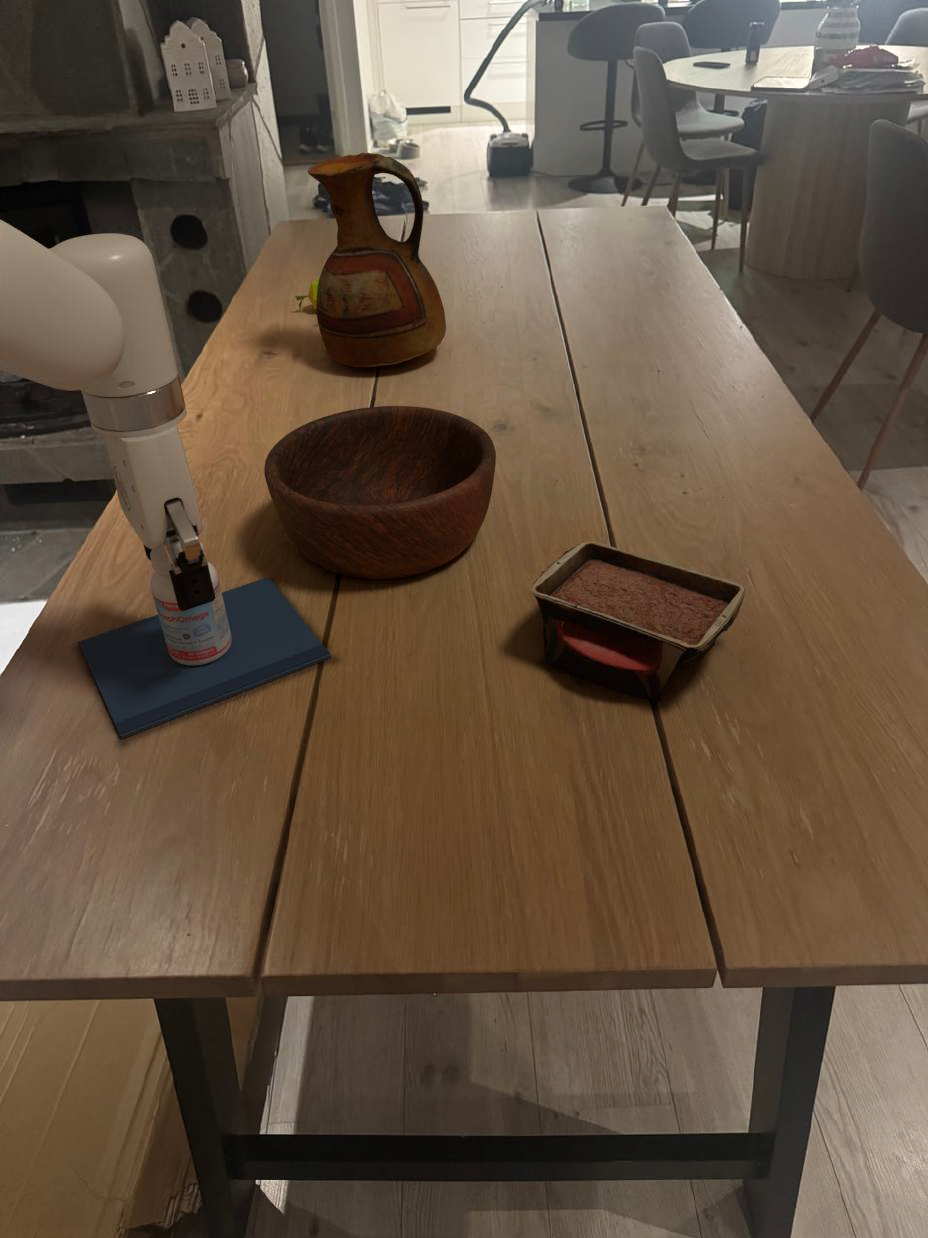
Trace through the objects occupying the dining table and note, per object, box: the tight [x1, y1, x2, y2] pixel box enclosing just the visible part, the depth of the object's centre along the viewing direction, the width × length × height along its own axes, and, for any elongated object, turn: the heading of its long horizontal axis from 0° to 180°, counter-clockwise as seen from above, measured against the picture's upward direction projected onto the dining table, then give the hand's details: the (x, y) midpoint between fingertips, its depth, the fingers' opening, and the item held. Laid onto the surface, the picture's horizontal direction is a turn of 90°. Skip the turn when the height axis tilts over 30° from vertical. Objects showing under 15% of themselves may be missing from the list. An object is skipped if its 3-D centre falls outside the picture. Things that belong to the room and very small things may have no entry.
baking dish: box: [530, 541, 746, 703], centre depth 85 cm, size 14×18×10 cm
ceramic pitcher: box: [307, 152, 447, 368], centre depth 141 cm, size 20×20×30 cm
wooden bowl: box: [263, 405, 497, 580], centre depth 103 cm, size 25×25×10 cm
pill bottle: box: [149, 540, 232, 666], centre depth 86 cm, size 6×6×11 cm
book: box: [78, 576, 332, 740], centre depth 90 cm, size 20×16×1 cm
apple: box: [294, 277, 320, 311], centre depth 168 cm, size 7×6×9 cm
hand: (180, 578), depth 84 cm, fingers open, 9 cm apart
